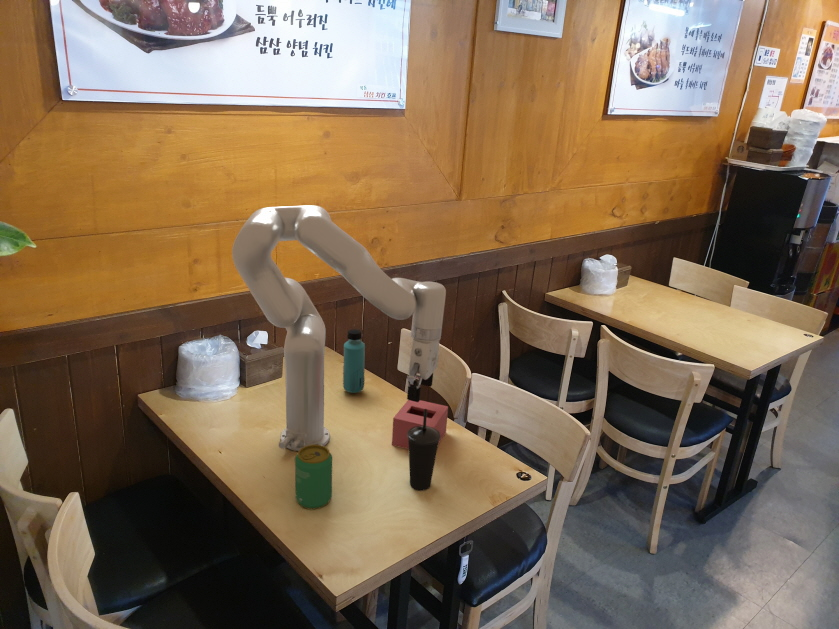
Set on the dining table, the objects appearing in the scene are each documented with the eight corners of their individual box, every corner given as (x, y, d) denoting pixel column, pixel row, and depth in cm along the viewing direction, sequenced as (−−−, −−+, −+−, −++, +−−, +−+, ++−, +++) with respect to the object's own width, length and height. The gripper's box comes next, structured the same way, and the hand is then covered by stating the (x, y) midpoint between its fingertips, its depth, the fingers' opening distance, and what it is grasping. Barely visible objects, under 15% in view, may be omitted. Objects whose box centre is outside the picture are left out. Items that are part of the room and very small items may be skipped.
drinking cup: (413, 497, 142) (418, 420, 135) (398, 479, 148) (402, 404, 141) (442, 489, 145) (448, 414, 138) (426, 472, 151) (432, 399, 144)
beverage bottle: (360, 398, 184) (362, 336, 177) (339, 395, 185) (340, 333, 178) (366, 389, 190) (369, 328, 183) (346, 386, 191) (347, 325, 184)
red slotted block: (431, 455, 158) (433, 427, 156) (391, 444, 162) (393, 417, 159) (445, 432, 169) (448, 406, 166) (408, 423, 172) (409, 397, 170)
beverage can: (337, 503, 138) (338, 457, 134) (304, 514, 134) (303, 467, 130) (322, 484, 144) (323, 439, 140) (289, 494, 140) (289, 448, 136)
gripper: (429, 346, 146) (422, 410, 152) (450, 323, 161) (443, 382, 167) (399, 339, 148) (393, 403, 154) (423, 317, 164) (417, 376, 169)
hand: (419, 392), depth 161 cm, fingers open, 9 cm apart
